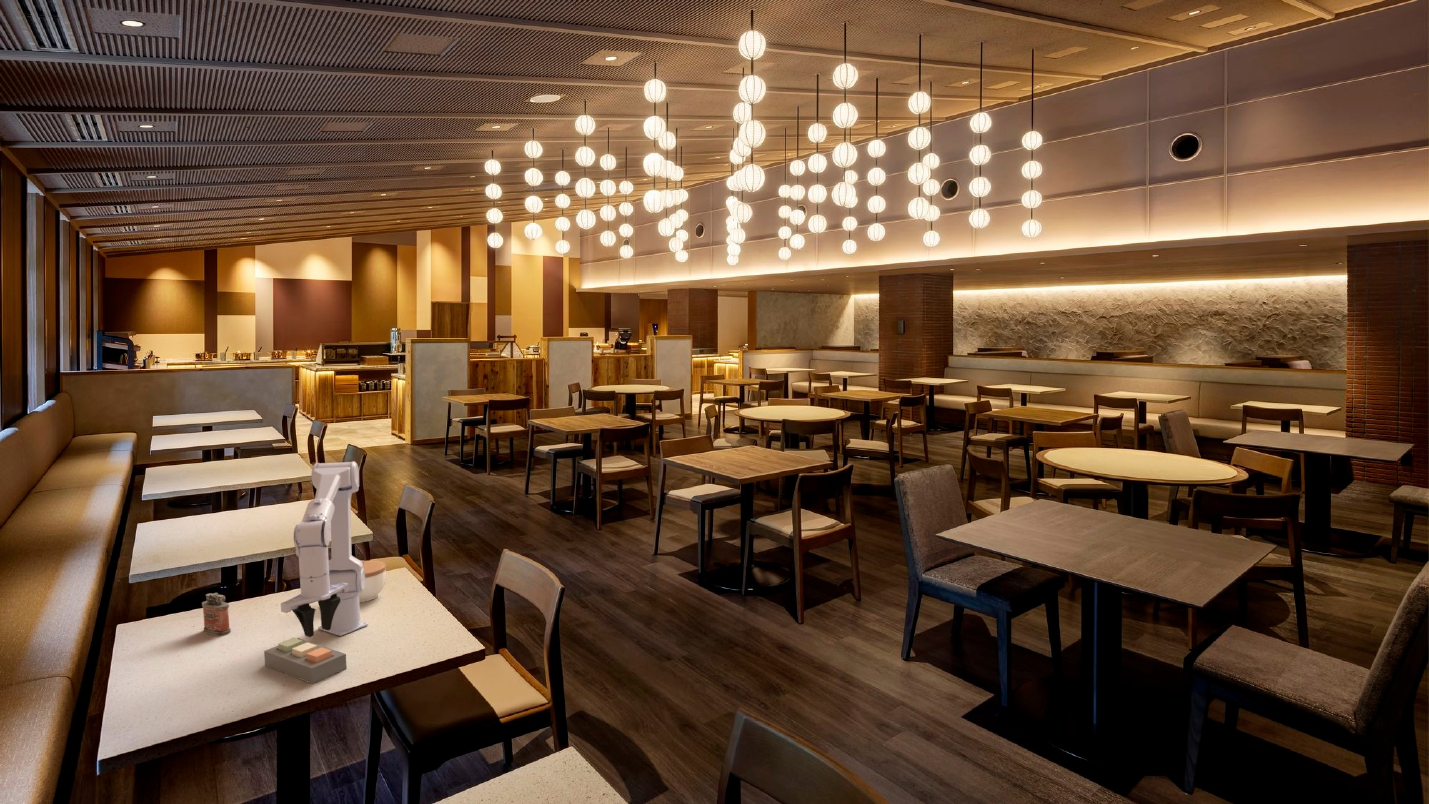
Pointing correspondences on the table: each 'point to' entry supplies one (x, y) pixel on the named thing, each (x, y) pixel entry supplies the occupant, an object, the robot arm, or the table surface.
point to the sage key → (289, 645)
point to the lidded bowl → (372, 579)
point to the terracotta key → (319, 655)
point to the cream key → (303, 649)
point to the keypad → (305, 664)
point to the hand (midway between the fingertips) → (317, 632)
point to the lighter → (216, 615)
